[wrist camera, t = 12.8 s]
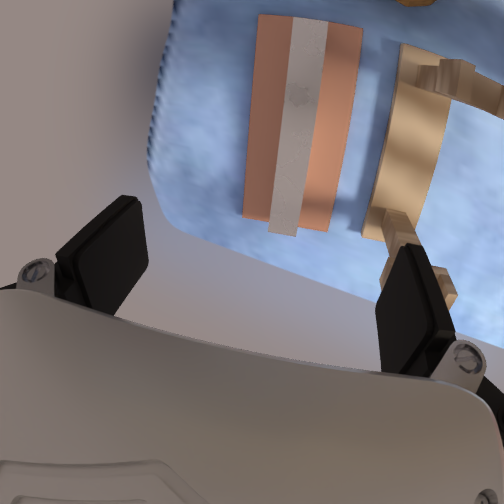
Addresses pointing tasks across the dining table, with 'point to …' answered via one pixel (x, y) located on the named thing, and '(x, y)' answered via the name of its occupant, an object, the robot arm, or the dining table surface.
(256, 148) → the terracotta mat
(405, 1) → the potato
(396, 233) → the hook stand
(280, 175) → the steel bar
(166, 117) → the dining table surface
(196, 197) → the dining table surface
